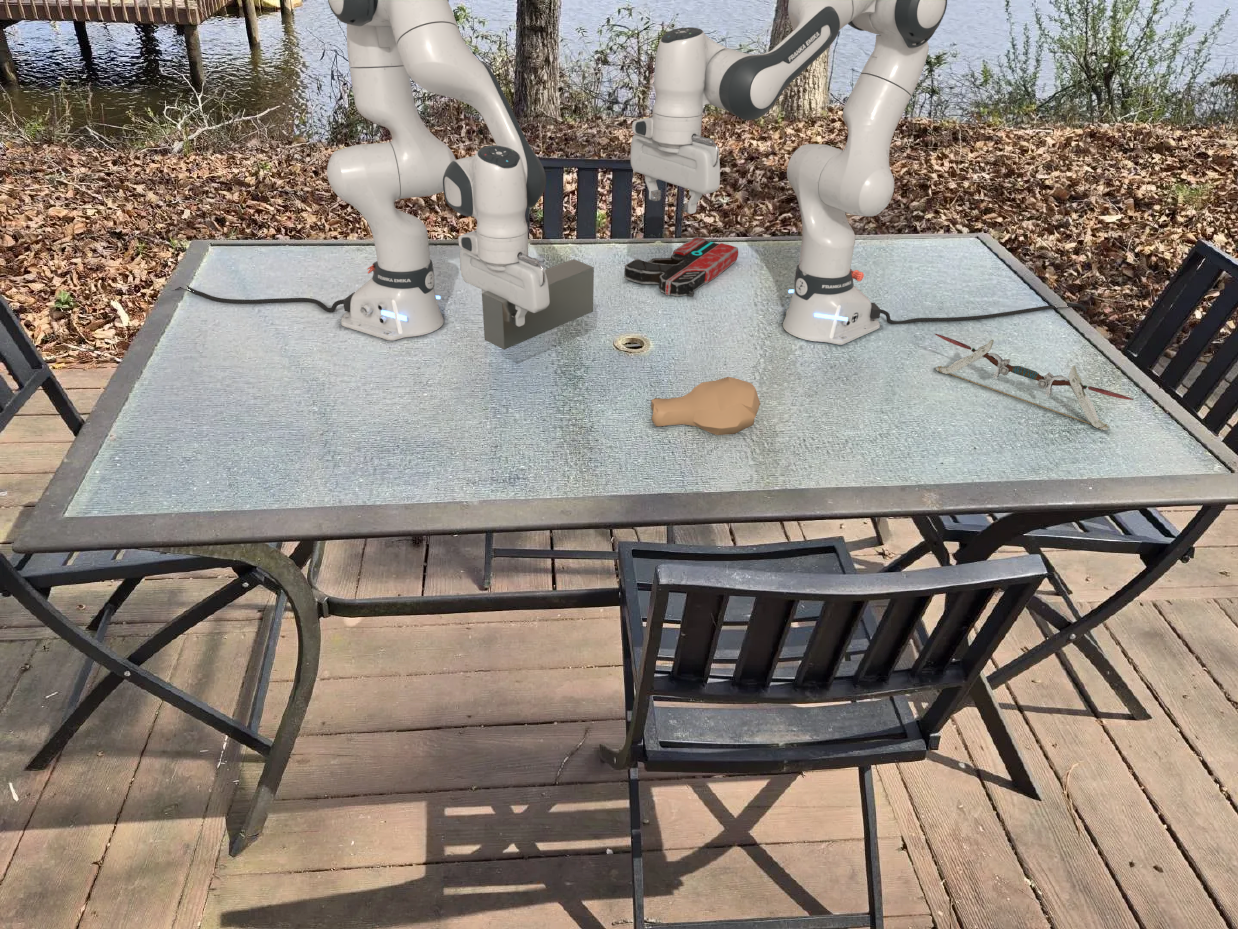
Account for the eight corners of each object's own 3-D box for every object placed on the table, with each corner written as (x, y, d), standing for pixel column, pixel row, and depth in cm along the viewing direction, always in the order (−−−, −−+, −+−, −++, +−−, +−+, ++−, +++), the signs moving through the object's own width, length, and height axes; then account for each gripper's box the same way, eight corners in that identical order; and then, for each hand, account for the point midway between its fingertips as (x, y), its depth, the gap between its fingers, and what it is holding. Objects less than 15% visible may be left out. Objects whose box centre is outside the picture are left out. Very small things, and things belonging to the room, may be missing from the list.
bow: (1121, 432, 163) (1140, 385, 158) (1118, 436, 162) (1137, 389, 157) (928, 364, 185) (939, 321, 179) (924, 367, 184) (935, 323, 178)
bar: (504, 349, 159) (502, 302, 154) (484, 339, 162) (481, 292, 157) (593, 311, 174) (594, 266, 169) (573, 303, 177) (573, 258, 172)
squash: (764, 441, 158) (764, 403, 152) (653, 450, 160) (649, 412, 153) (757, 403, 166) (757, 365, 160) (652, 411, 167) (648, 374, 161)
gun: (618, 266, 215) (688, 285, 207) (677, 229, 237) (743, 245, 229) (618, 283, 218) (687, 302, 210) (676, 245, 240) (741, 261, 232)
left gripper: (557, 257, 149) (557, 331, 157) (479, 226, 160) (483, 296, 168) (530, 267, 145) (532, 342, 153) (451, 234, 156) (457, 306, 164)
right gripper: (731, 138, 152) (724, 217, 160) (650, 116, 165) (647, 190, 172) (706, 143, 149) (700, 223, 156) (625, 120, 161) (623, 196, 169)
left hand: (505, 318), depth 160 cm, fingers closed on bar, 5 cm apart
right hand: (672, 206), depth 164 cm, fingers open, 8 cm apart
